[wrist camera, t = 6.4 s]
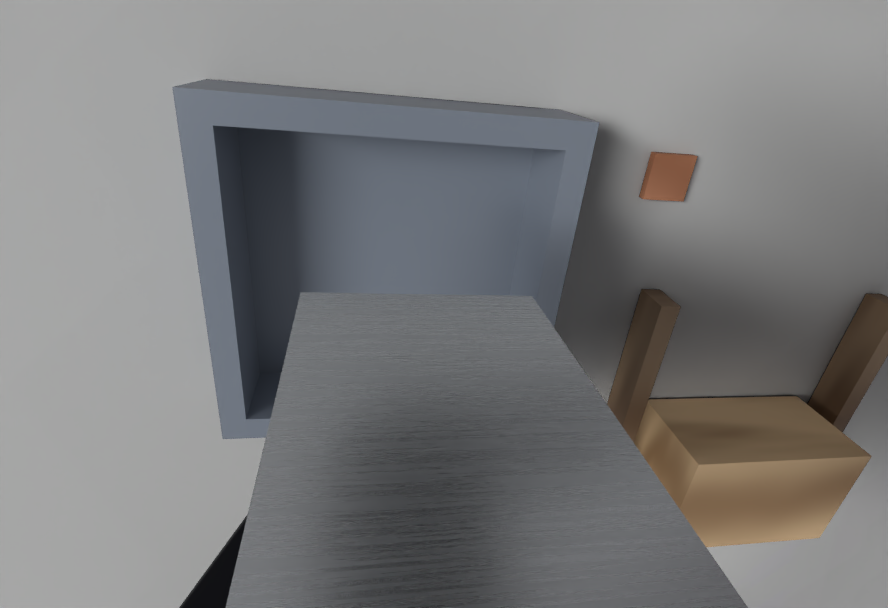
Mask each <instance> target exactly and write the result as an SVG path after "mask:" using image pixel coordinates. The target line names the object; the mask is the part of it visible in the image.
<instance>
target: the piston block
mask: <svg viewBox="0 0 888 608" xmlns="http://www.w3.org/2000/svg"><path fill="white" fill-rule="evenodd" d="M634 444H635V445H636V447H637V448H638V450H639V451H640V453H641V454H642V455H643V457H644V458H645V460H646V461H647V463H648V464H649V466H650V467H651V468H652V470H653V471H654V473H655V474H656V476H657V477H658V479H659V480H660V481H661V483H662V484H663V486H664V487H665V489H666V490H667V492H668V493H669V494H670V496H671V497H672V499H673V500H674V502H675V503H676V505H677V506H678V507H679V509H680V510H681V512H682V513H683V515H684V516H685V518H686V519H687V520H688V522H689V523H690V525H691V526H692V528H693V529H694V531H695V532H696V533H697V535H698V536H699V538H700V539H701V541H702V542H703V544H704V545H705V546H706V547H714V546H727V545H739V544H751V543H763V542H775V541H787V540H799V539H812V538H820V536H821V534H822V533H823V531H824V530H825V528H826V527H827V525H828V524H829V522H830V520H831V519H832V517H833V516H834V514H835V513H836V511H837V510H838V508H839V506H840V505H841V503H842V502H843V500H844V499H845V497H846V495H847V494H848V492H849V491H850V489H851V488H852V486H853V485H854V483H855V481H856V480H857V478H858V477H859V475H860V474H861V472H862V470H863V469H864V467H865V466H866V464H867V463H868V461H869V460H870V458H871V455H870V454H868V453H867V452H866V451H865V450H863V449H862V448H861V447H860V446H858V445H857V444H856V443H855V442H853V441H852V440H851V439H850V438H848V437H847V436H846V435H845V434H843V433H842V432H841V431H840V430H838V429H837V428H836V427H835V426H833V425H832V424H831V423H830V422H828V421H827V420H826V419H825V418H823V417H822V416H821V415H820V414H818V413H817V412H816V411H815V410H814V409H812V408H811V407H810V406H809V405H807V404H806V403H805V402H804V401H802V400H801V399H800V398H799V397H797V396H779V397H736V398H693V399H650V400H648V403H647V406H646V409H645V412H644V415H643V417H642V420H641V423H640V426H639V429H638V432H637V435H636V438H635V441H634Z"/></svg>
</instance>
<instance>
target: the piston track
mask: <svg viewBox="0 0 888 608" xmlns="http://www.w3.org/2000/svg"><path fill="white" fill-rule="evenodd" d="M697 157H698V156H695V155H689V154H676V153H662V152H651V155H650V159H649V162H648V166H647V170H646V173H645V177H644V181H643V184H642V188H641V192H640V195H639V197H640V198H642V199H650V200H668V201H684V198H685V195H686V192H687V188H688V185H689V182H690V179H691V176H692V173H693V169H694V166H695V163H696V160H697ZM680 308H681V307H680V306H679V305H678V304H677V303H676V302H674V301H673V300H672V299H671V298H669V297H668V296H667V295H666V294H665V293H663V292H662V291H661V290H656V289H642V290H641V293H640V296H639V300H638V303H637V306H636V310H635V313H634V316H633V320H632V323H631V326H630V330H629V333H628V336H627V340H626V343H625V346H624V350H623V353H622V356H621V360H620V363H619V366H618V370H617V373H616V376H615V379H614V383H613V386H612V389H611V393H610V396H609V399H608V403H607V405H608V406H609V408H610V409H611V411H612V412H613V414H614V415H615V416H616V418H617V419H618V421H619V422H620V424H621V425H622V427H623V428H624V429H625V431H626V432H627V434H628V435H629V437H630V438H631V440H632V441H633V442H634V441H635V438H636V435H637V432H638V429H639V426H640V423H641V420H642V417H643V415H644V412H645V409H646V406H647V403H648V400H649V397H650V394H651V391H652V389H653V386H654V383H655V380H656V377H657V374H658V371H659V368H660V366H661V363H662V360H663V357H664V354H665V351H666V348H667V345H668V342H669V340H670V337H671V334H672V331H673V328H674V325H675V322H676V319H677V316H678V314H679V311H680ZM887 356H888V297H887V296H885V295H882V294H866V295H865V297H864V299H863V301H862V302H861V304H860V306H859V308H858V310H857V312H856V314H855V316H854V318H853V319H852V321H851V323H850V325H849V327H848V329H847V331H846V333H845V335H844V336H843V338H842V340H841V342H840V344H839V346H838V348H837V350H836V352H835V353H834V355H833V357H832V359H831V361H830V363H829V365H828V367H827V369H826V370H825V372H824V374H823V376H822V378H821V380H820V382H819V384H818V385H817V387H816V389H815V391H814V393H813V395H812V397H811V399H810V401H809V402H808V404H807V405H809V406H810V407H811V408H812V409H814V410H815V411H816V412H817V413H818V414H820V415H821V416H822V417H823V418H825V419H826V420H827V421H828V422H830V423H831V424H832V425H833V426H835V427H836V428H837V429H838V430H840V431H841V432H843V431H844V429H845V427H846V425H847V424H848V422H849V420H850V419H851V417H852V415H853V414H854V412H855V410H856V408H857V407H858V405H859V403H860V402H861V400H862V398H863V397H864V395H865V393H866V391H867V390H868V388H869V386H870V385H871V383H872V381H873V380H874V378H875V376H876V374H877V373H878V371H879V369H880V368H881V366H882V364H883V363H884V361H885V359H886V357H887Z"/></svg>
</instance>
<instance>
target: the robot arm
mask: <svg viewBox="0 0 888 608" xmlns="http://www.w3.org/2000/svg"><path fill="white" fill-rule="evenodd" d="M246 519H247V516H246V517H245V519H244V520H243V521H242V523H241V524H240V525H239V527H238V528H237V530H236V531H235V532H234V534H233V535H232V536H231V538H230V539H229V541H228V542H227V543H226V545H225V546H224V547H223V549H222V550H221V551H220V553H219V554H218V556H217V557H216V558H215V560H214V561H213V562H212V564H211V565H210V566H209V568H208V569H207V571H206V572H205V573H204V575H203V576H202V577H201V579H200V580H199V581H198V583H197V584H196V586H195V587H194V588H193V590H192V591H191V592H190V594H189V595H188V597H187V598H186V599H185V601H184V602H183V603H182V605H181V606H180V607H179V608H226V604H227V599H228V595H229V591H230V587H231V583H232V578H233V574H234V570H235V566H236V562H237V557H238V553H239V549H240V545H241V541H242V536H243V532H244V528H245V524H246Z"/></svg>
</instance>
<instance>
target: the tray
mask: <svg viewBox="0 0 888 608" xmlns="http://www.w3.org/2000/svg"><path fill="white" fill-rule="evenodd" d="M173 94H174V101H175V108H176V115H177V122H178V129H179V136H180V143H181V150H182V157H183V164H184V171H185V178H186V185H187V192H188V199H189V206H190V213H191V220H192V227H193V234H194V241H195V248H196V255H197V262H198V269H199V276H200V283H201V290H202V297H203V304H204V311H205V318H206V325H207V332H208V339H209V346H210V353H211V360H212V367H213V374H214V381H215V388H216V395H217V402H218V409H219V416H220V423H221V430H222V437H223V439H235V438H265V437H266V435H267V431H268V427H269V423H270V419H271V414H272V410H273V406H274V402H275V398H276V393H277V389H278V385H279V381H280V377H281V372H282V368H283V364H284V360H285V356H286V351H287V347H288V343H289V339H290V334H291V330H292V326H293V322H294V318H295V313H296V309H297V305H298V301H299V297H300V292H317V293H381V294H446V295H510V296H532V297H533V298H534V300H535V301H536V302H537V304H538V305H539V307H540V308H541V310H542V311H543V313H544V314H545V315H546V317H547V318H548V320H549V321H550V323H551V324H552V326H553V327H554V326H555V321H556V317H557V312H558V308H559V303H560V299H561V294H562V290H563V285H564V281H565V276H566V272H567V267H568V263H569V258H570V253H571V249H572V244H573V240H574V235H575V231H576V226H577V222H578V217H579V213H580V208H581V204H582V199H583V195H584V190H585V186H586V181H587V177H588V172H589V168H590V163H591V159H592V154H593V150H594V145H595V140H596V136H597V131H598V127H599V122H596V121H593V120H590V119H587V118H584V117H581V116H578V115H575V114H572V113H569V112H566V111H563V110H557V109H546V108H534V107H523V106H511V105H499V104H488V103H476V102H465V101H453V100H442V99H430V98H418V97H407V96H395V95H384V94H372V93H361V92H349V91H337V90H326V89H314V88H303V87H291V86H280V85H268V84H256V83H245V82H233V81H222V80H210V79H206V80H201V81H197V82H192V83H188V84H184V85H179V86H175V87H173Z"/></svg>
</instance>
